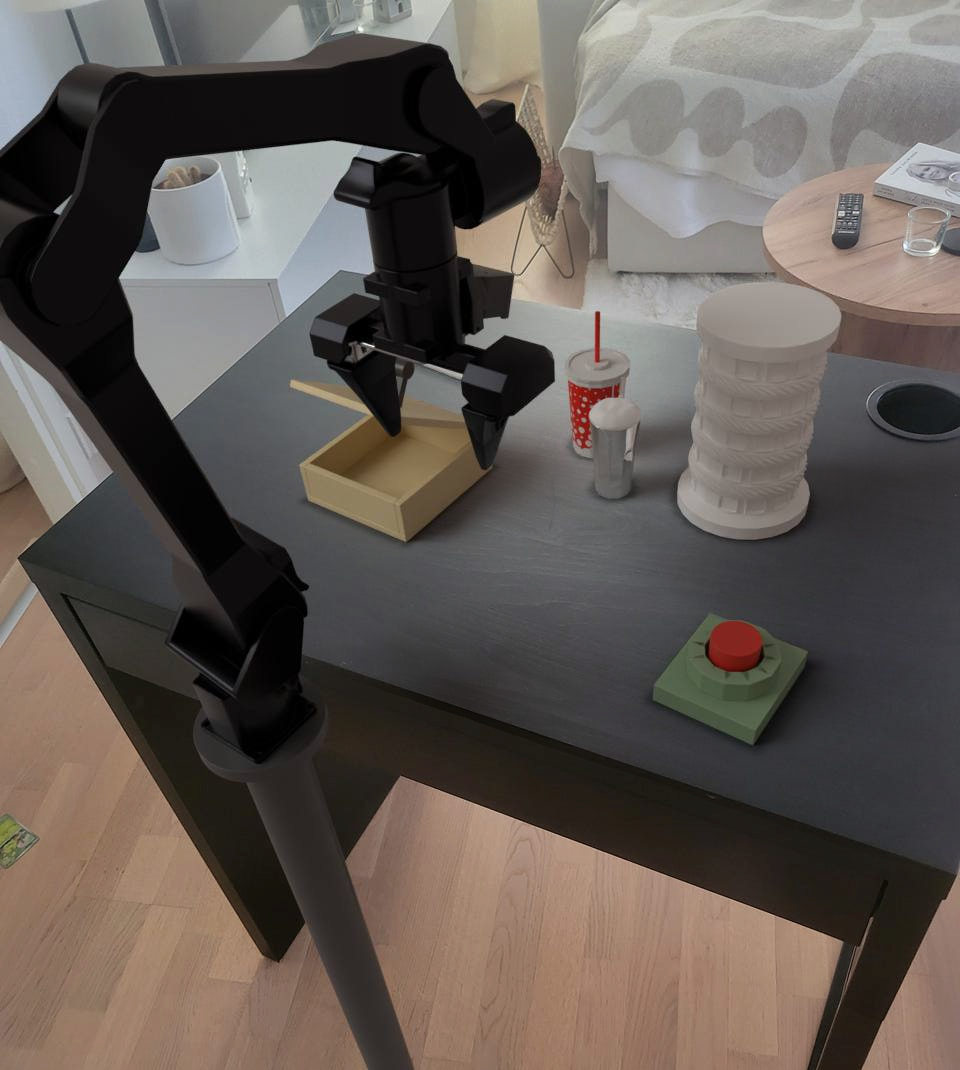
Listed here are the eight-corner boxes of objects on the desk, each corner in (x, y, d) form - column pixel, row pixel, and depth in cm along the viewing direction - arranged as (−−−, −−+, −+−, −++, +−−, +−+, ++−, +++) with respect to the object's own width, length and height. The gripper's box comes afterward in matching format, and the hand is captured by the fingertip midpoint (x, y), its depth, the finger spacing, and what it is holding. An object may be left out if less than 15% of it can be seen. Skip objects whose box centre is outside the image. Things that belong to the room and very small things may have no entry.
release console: (753, 745, 67) (759, 713, 64) (652, 700, 71) (654, 667, 68) (804, 666, 72) (812, 634, 69) (708, 627, 75) (712, 595, 73)
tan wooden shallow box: (406, 542, 86) (399, 505, 83) (308, 500, 92) (298, 464, 89) (492, 467, 93) (489, 431, 90) (396, 433, 99) (390, 397, 96)
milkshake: (644, 473, 91) (649, 379, 83) (631, 506, 87) (635, 411, 80) (597, 467, 92) (598, 374, 85) (583, 500, 88) (583, 405, 81)
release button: (745, 680, 67) (748, 663, 66) (699, 660, 69) (701, 643, 68) (767, 649, 69) (771, 632, 68) (722, 631, 71) (724, 613, 69)
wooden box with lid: (395, 424, 78) (408, 366, 77) (289, 387, 84) (299, 331, 82) (488, 431, 90) (500, 380, 88) (389, 397, 96) (399, 349, 94)
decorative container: (835, 507, 85) (880, 317, 72) (735, 557, 81) (763, 366, 68) (746, 449, 92) (772, 267, 79) (650, 492, 88) (662, 308, 76)
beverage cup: (607, 422, 97) (609, 290, 87) (639, 451, 93) (645, 316, 83) (554, 440, 96) (551, 308, 86) (584, 470, 92) (584, 335, 82)
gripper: (597, 233, 64) (595, 433, 75) (386, 190, 72) (413, 374, 83) (501, 302, 58) (514, 507, 69) (284, 246, 66) (327, 436, 77)
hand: (440, 450), depth 75 cm, fingers open, 9 cm apart
